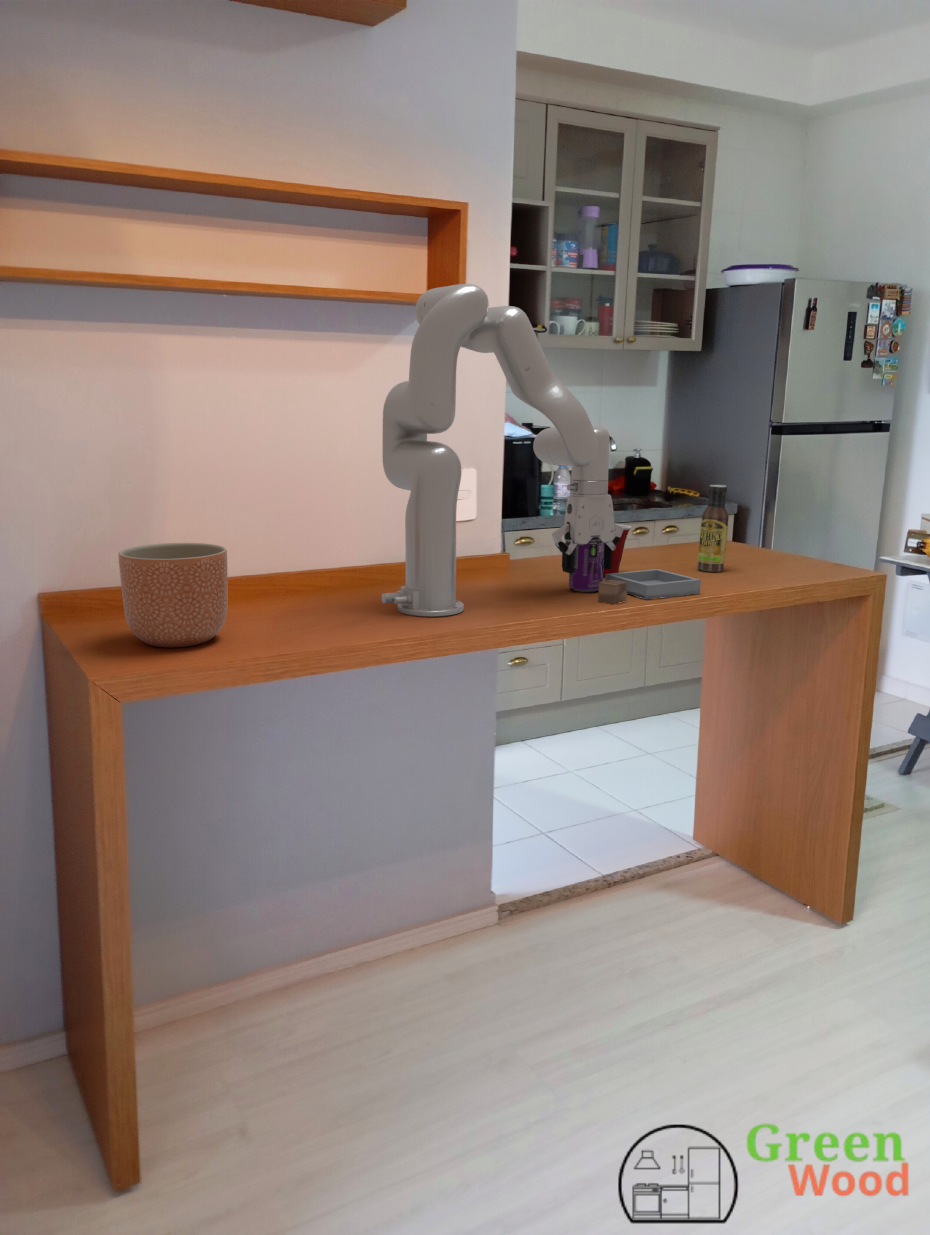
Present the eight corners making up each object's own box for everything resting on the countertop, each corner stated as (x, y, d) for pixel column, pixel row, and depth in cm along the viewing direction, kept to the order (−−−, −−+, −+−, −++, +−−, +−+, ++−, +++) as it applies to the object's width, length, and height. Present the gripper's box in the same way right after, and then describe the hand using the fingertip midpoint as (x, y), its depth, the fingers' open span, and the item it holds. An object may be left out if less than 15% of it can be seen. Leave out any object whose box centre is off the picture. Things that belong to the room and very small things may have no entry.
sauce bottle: (693, 571, 235) (698, 485, 231) (702, 567, 240) (708, 483, 236) (719, 574, 232) (725, 487, 227) (729, 570, 237) (734, 485, 232)
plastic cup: (638, 578, 226) (641, 524, 223) (596, 581, 222) (598, 527, 219) (614, 569, 236) (616, 518, 233) (573, 572, 232) (575, 520, 229)
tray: (646, 600, 202) (647, 585, 202) (604, 587, 214) (605, 574, 214) (700, 593, 209) (700, 579, 208) (656, 582, 221) (657, 568, 220)
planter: (244, 645, 165) (240, 554, 161) (137, 659, 156) (131, 562, 153) (214, 624, 179) (209, 539, 175) (115, 635, 171) (108, 546, 167)
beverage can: (601, 594, 208) (603, 536, 205) (567, 592, 209) (568, 535, 207) (603, 587, 215) (605, 531, 212) (570, 586, 216) (572, 530, 213)
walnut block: (615, 605, 198) (615, 585, 197) (598, 602, 201) (598, 582, 200) (626, 602, 201) (627, 582, 200) (609, 599, 204) (610, 579, 203)
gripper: (564, 492, 200) (562, 577, 204) (634, 488, 208) (631, 569, 212) (544, 488, 206) (542, 571, 210) (612, 484, 215) (609, 564, 218)
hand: (587, 570), depth 211 cm, fingers open, 9 cm apart
